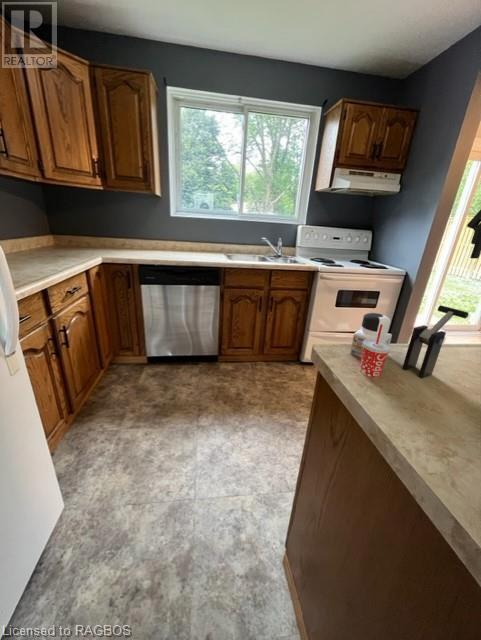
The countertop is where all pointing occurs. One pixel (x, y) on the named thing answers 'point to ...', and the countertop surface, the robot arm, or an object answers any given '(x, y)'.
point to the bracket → (430, 353)
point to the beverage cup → (374, 356)
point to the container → (370, 332)
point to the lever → (441, 322)
